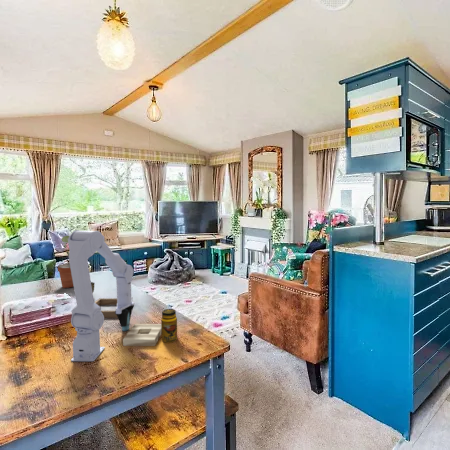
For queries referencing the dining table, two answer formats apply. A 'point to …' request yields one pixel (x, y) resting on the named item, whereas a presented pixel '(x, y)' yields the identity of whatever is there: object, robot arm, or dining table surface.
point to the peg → (126, 325)
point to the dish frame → (107, 302)
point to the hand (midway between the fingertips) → (125, 324)
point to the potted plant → (65, 270)
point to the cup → (92, 286)
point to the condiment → (169, 326)
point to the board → (143, 335)
